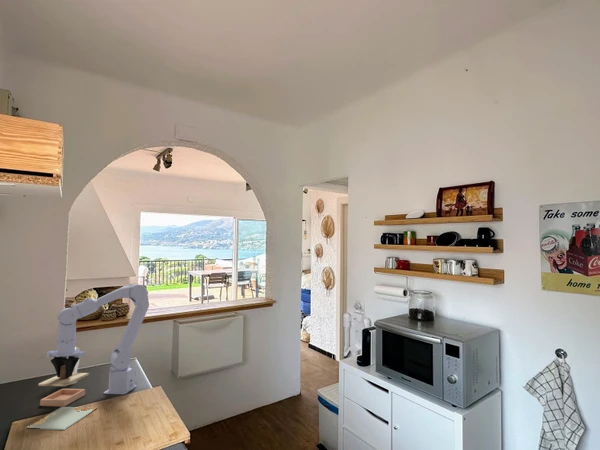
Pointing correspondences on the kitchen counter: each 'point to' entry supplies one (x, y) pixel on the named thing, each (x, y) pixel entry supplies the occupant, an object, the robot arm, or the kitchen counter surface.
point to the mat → (62, 419)
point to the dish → (62, 397)
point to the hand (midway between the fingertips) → (64, 376)
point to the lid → (63, 378)
